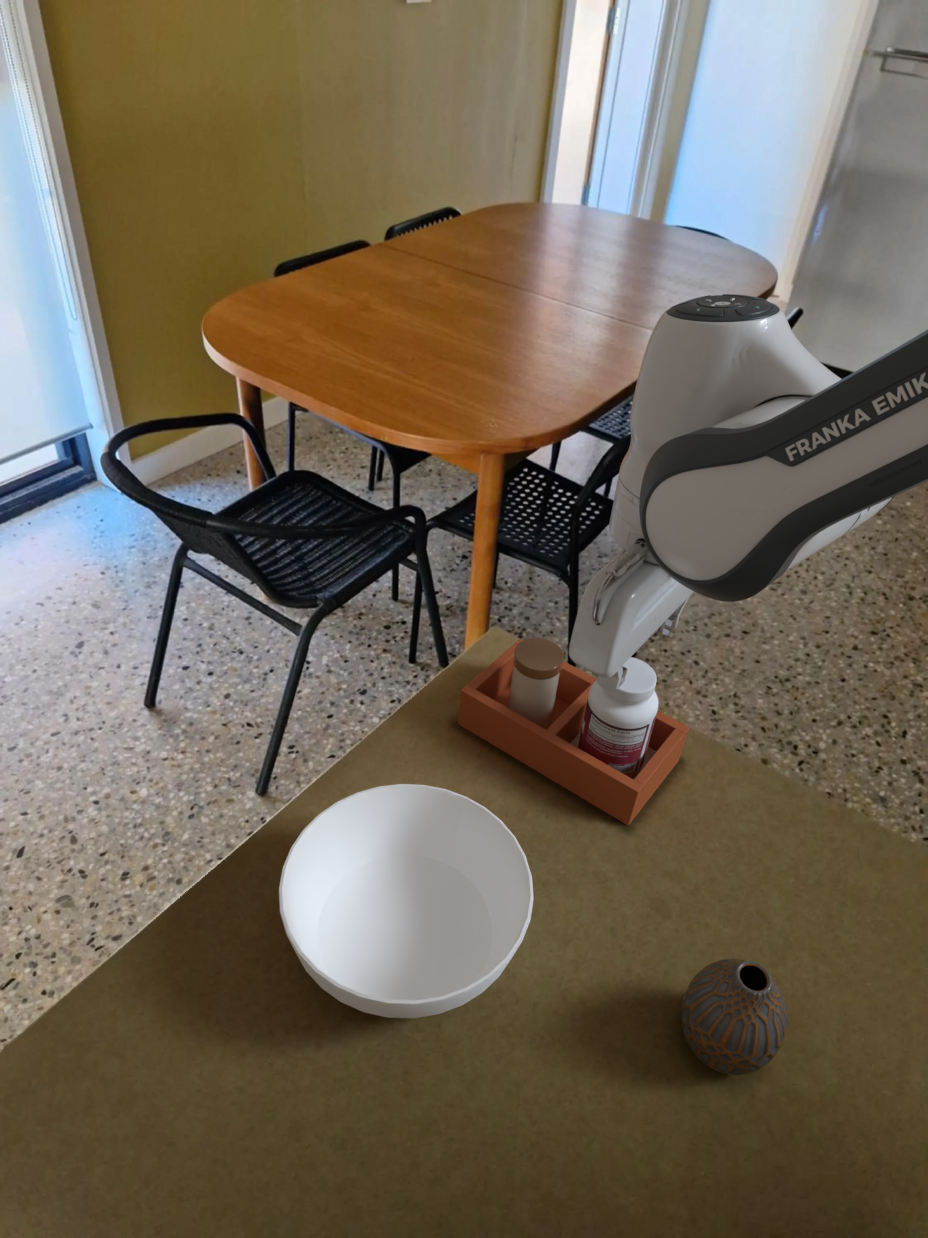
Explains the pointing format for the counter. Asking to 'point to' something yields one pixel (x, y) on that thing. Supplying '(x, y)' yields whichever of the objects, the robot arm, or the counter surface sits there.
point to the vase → (734, 1016)
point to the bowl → (405, 899)
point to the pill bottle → (621, 719)
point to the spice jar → (535, 679)
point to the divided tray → (567, 739)
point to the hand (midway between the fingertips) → (637, 655)
